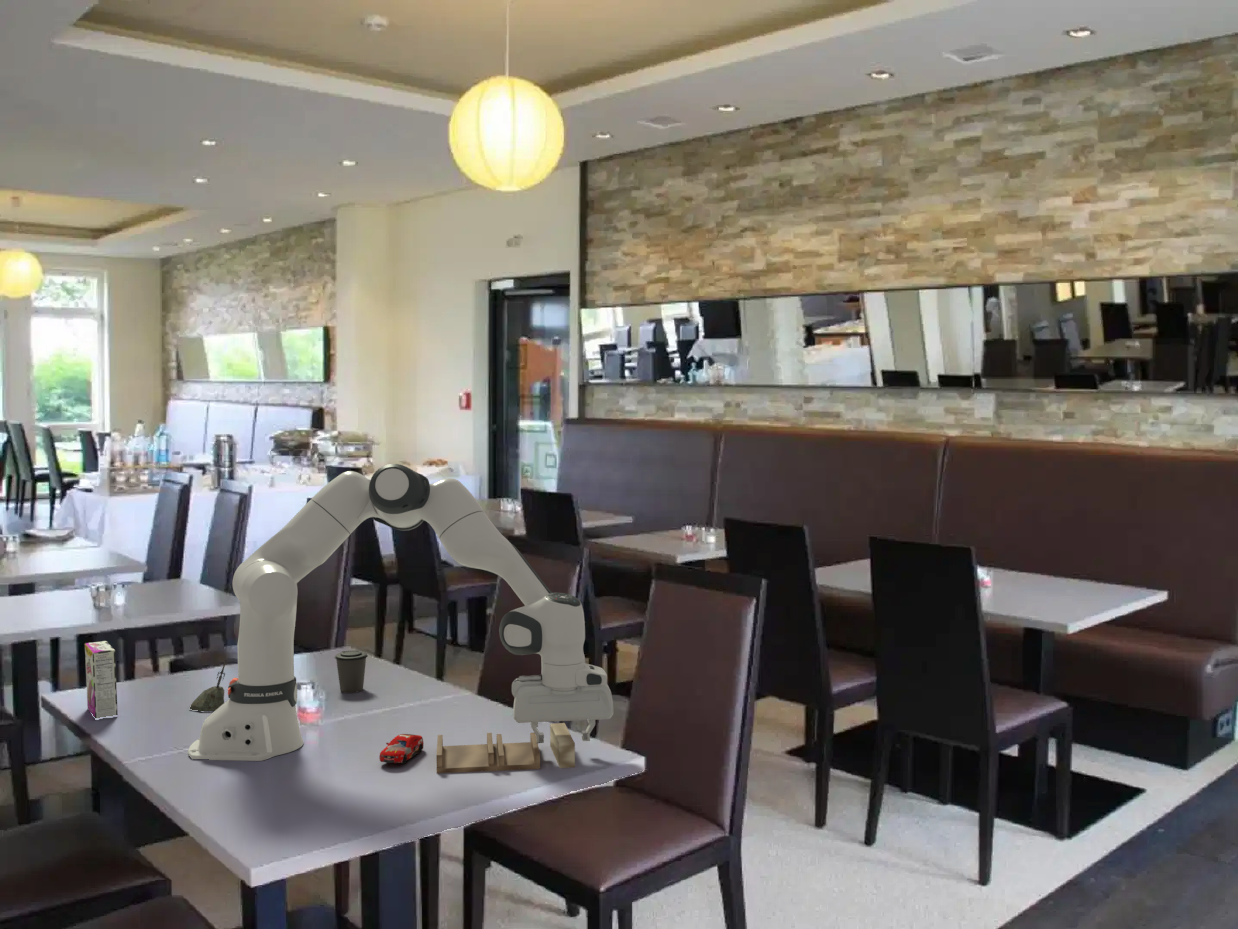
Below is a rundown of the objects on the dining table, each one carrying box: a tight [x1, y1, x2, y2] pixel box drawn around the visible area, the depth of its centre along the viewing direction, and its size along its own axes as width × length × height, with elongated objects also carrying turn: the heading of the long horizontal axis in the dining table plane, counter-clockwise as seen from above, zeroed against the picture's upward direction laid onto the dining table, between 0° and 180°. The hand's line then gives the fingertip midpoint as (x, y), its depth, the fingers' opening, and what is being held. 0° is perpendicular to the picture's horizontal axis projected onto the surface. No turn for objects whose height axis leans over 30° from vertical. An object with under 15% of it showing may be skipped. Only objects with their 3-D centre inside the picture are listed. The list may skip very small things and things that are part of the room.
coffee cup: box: [334, 650, 369, 694], centre depth 275 cm, size 8×8×10 cm
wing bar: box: [549, 722, 576, 769], centre depth 225 cm, size 3×14×5 cm, turn 11°
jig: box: [435, 732, 541, 774], centre depth 223 cm, size 20×14×4 cm
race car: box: [379, 733, 424, 765], centre depth 224 cm, size 13×5×4 cm, turn 166°
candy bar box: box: [84, 640, 118, 718], centre depth 253 cm, size 11×5×16 cm, turn 34°
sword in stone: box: [189, 657, 228, 711], centre depth 259 cm, size 10×8×12 cm
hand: (563, 741), depth 226 cm, fingers open, 8 cm apart
